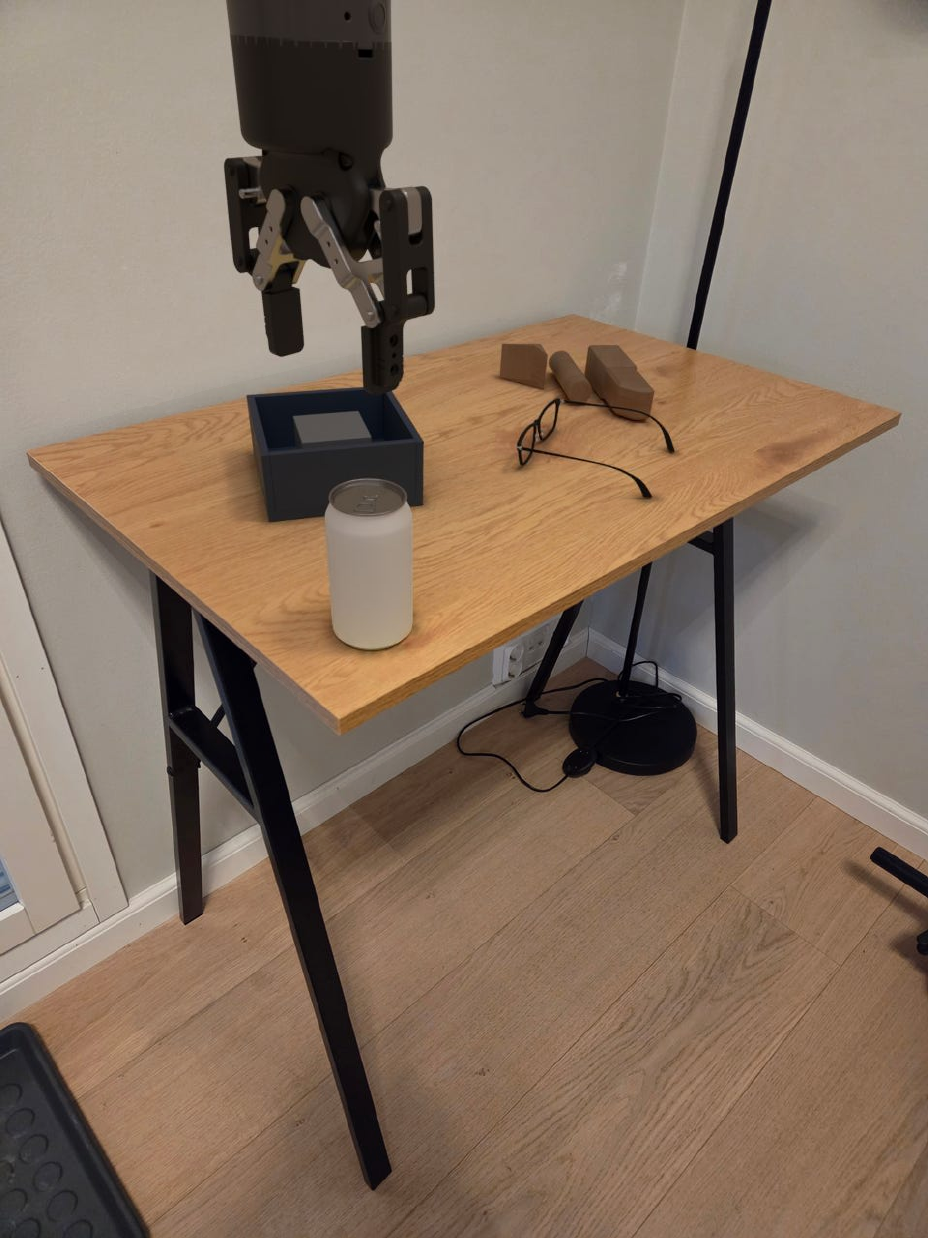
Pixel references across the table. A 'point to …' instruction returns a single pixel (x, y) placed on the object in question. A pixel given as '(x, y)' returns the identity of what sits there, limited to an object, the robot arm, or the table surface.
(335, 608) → the can
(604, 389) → the wooden block set
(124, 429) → the table surface
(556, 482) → the table surface
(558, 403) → the eyeglasses
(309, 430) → the grey block
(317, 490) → the crate
